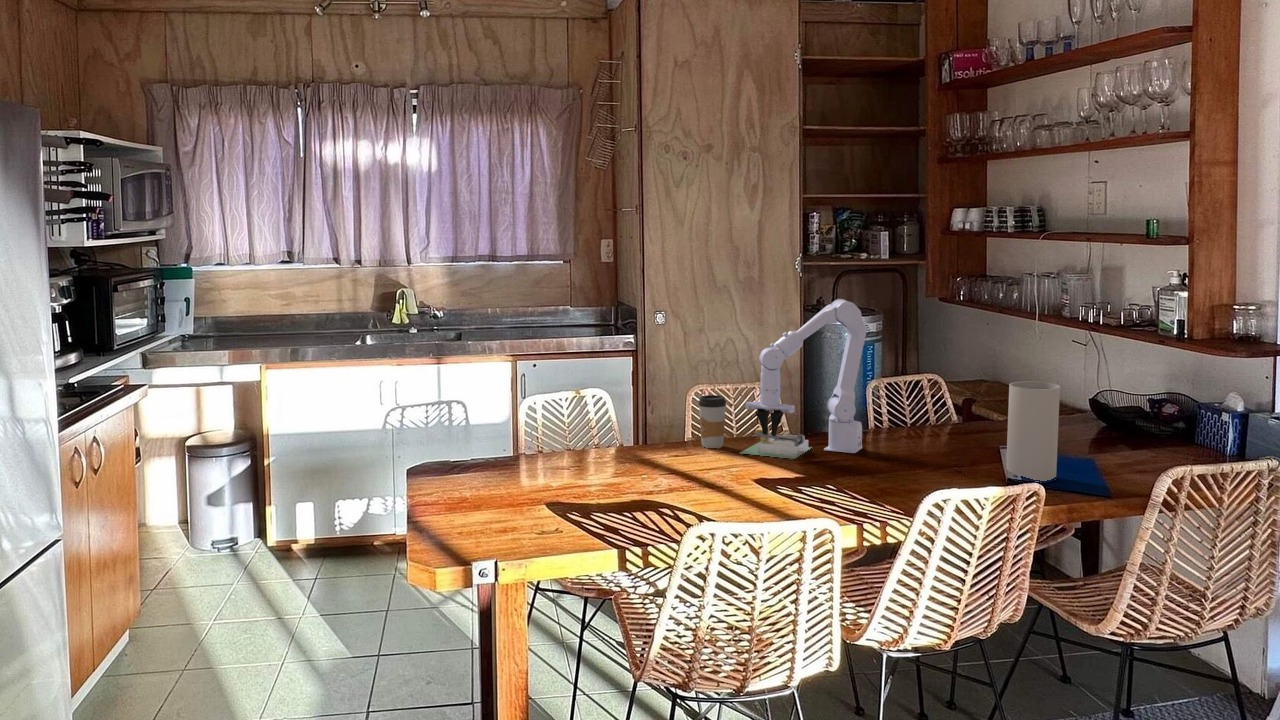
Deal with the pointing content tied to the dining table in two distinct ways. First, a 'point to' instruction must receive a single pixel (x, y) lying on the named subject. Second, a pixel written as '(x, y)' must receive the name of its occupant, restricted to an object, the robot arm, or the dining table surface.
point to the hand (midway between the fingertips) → (769, 435)
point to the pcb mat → (754, 451)
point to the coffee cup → (712, 420)
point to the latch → (761, 431)
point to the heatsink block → (784, 446)
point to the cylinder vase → (1033, 429)
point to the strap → (775, 436)
